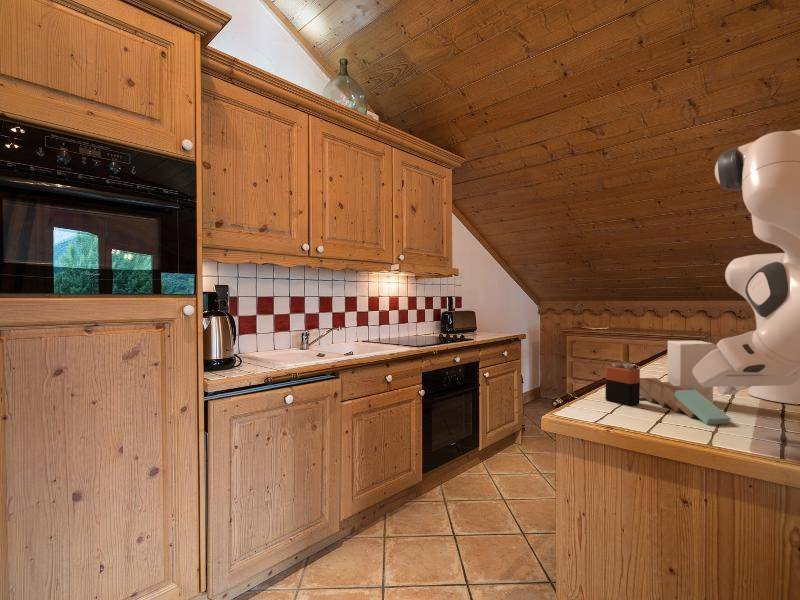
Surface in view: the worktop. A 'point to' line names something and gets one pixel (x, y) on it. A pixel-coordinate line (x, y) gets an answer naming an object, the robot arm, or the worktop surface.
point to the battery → (622, 384)
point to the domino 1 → (646, 395)
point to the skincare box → (687, 365)
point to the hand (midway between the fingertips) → (724, 391)
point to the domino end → (701, 407)
